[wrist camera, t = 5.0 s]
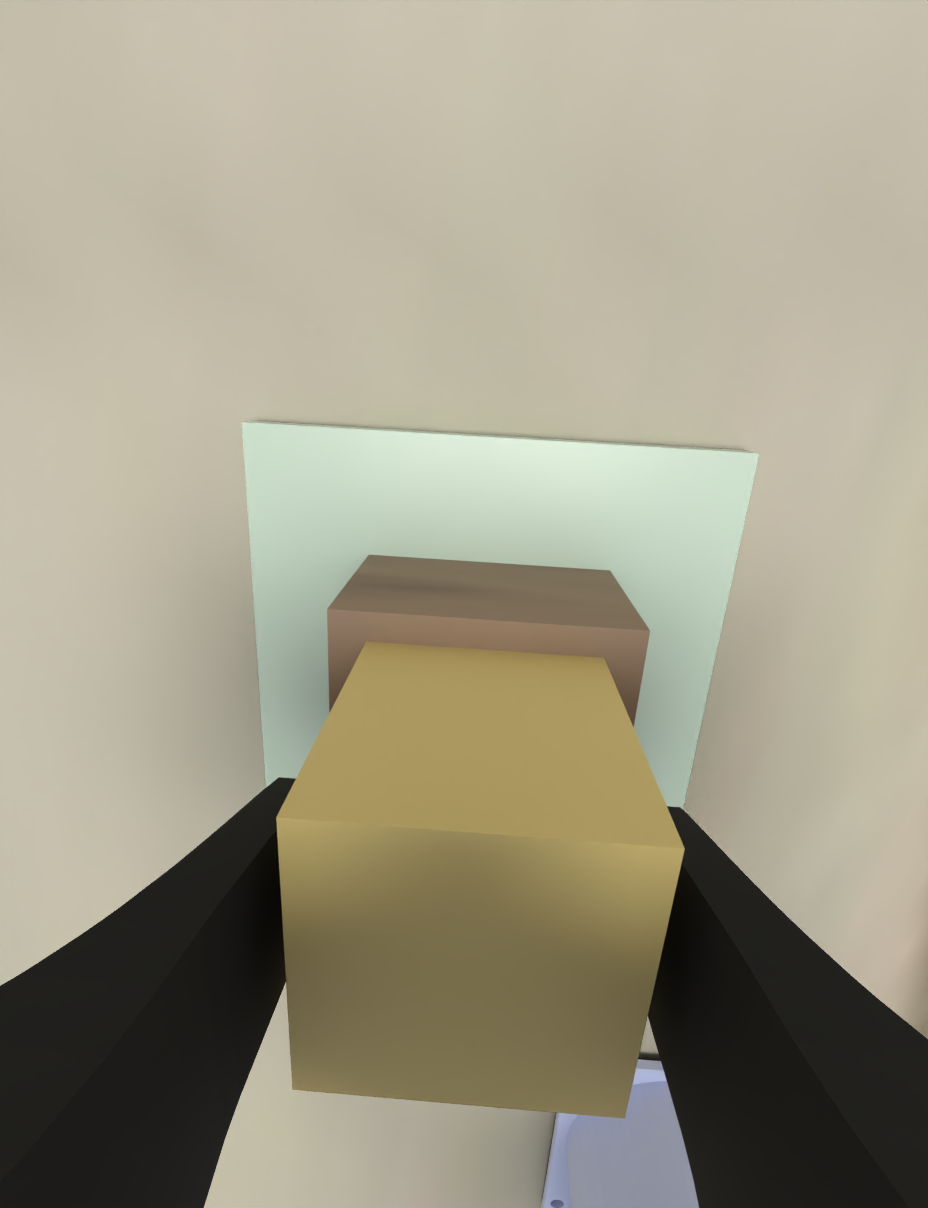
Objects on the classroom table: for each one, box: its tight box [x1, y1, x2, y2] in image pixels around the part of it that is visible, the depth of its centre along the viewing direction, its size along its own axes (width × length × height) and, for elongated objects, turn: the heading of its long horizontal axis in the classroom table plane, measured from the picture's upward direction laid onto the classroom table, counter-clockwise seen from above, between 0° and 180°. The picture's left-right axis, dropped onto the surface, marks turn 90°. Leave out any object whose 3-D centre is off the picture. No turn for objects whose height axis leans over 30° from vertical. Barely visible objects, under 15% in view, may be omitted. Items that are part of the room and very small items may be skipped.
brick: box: [276, 641, 685, 1119], centre depth 10 cm, size 4×4×5 cm
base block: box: [327, 555, 650, 727], centre depth 14 cm, size 6×6×4 cm
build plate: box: [242, 421, 759, 809], centre depth 16 cm, size 12×12×1 cm
